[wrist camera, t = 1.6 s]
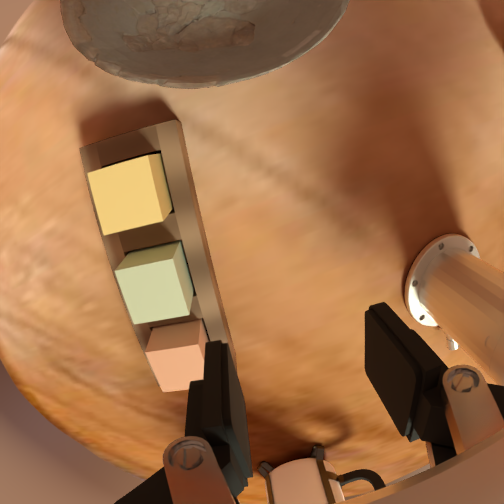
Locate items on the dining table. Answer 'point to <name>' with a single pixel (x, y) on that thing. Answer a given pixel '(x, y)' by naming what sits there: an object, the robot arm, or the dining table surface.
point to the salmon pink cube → (177, 353)
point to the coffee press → (310, 480)
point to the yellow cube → (131, 194)
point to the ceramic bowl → (197, 37)
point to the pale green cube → (156, 283)
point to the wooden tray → (164, 223)
